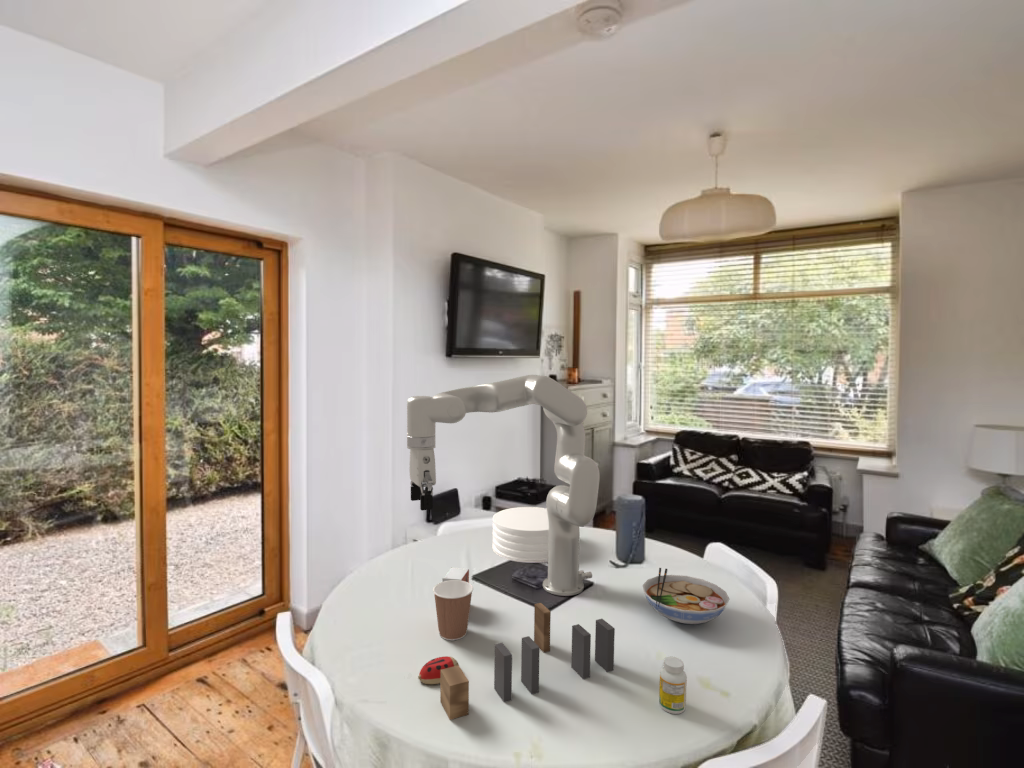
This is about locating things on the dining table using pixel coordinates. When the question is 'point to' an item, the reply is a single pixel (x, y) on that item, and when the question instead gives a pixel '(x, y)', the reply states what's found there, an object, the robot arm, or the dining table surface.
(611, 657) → the domino
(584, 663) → the domino
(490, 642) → the dining table surface
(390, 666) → the dining table surface
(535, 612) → the domino
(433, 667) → the ladybug figurine
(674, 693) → the supplement bottle
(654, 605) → the ramen bowl
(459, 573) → the small box
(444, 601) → the coffee cup
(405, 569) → the dining table surface
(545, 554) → the plate stack
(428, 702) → the dining table surface
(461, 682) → the end block
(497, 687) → the domino
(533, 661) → the domino
